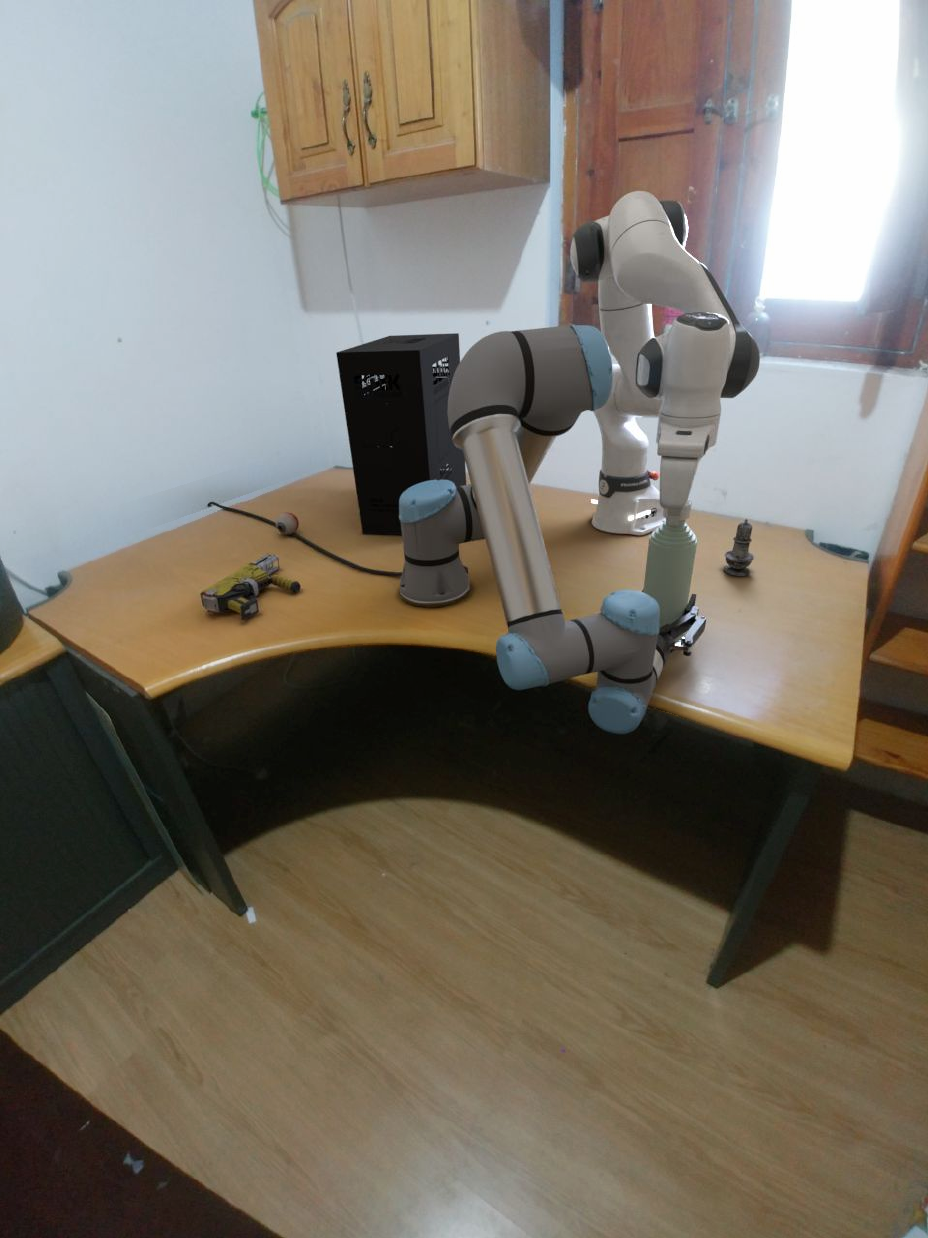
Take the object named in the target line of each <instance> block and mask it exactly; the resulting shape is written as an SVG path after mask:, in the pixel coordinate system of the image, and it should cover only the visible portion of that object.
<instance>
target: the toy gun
mask: <svg viewBox="0 0 928 1238" xmlns="http://www.w3.org/2000/svg"><path fill="white" fill-rule="evenodd" d="M275 562H277V564H278V565H277V566H276V565H274V563H275ZM280 568H281V567H280V558H279V556H278V555H277V554H272V553H270V552H269V553H267V554H265V555H263V556H261V557H260V558H258V559H257V560H255V561H253V562H250V563H248V564H246V565H244V566H243V567H240V568H239V569H238V570H236V571H234V572H233V573H231V574H229V575H228V576H226V577H223V579H221V580H218V581H217V582H216V583H214V584H212V585H210V586H209V587H207V588H205V589H204V590H202V591H201V592H200V594H199V595H200V599H201V604H202V607H203V608H204V610H206V612H207V613H211V614H212V615H213V614H214V615H215V614H216V613H220V614H222V613H228V612H231V611H234V612H237V613H239V614H240V615H241V620H243V621H245V620H247V619H249V618H251V617H252V616H254V615H257V614H259V612H260V609H259V602H258V599H257V597H258V596H259V594H260V592H259V591H261V590H263V589H265V588H267V587H269V586H270V585H274V586H277V587H278V588H282V589H285V590H286V591H290V592H292V593H294V594H295V593H298V592H299V591H300V590H301V584H300V582H299V581H297V580H292V579H288V578H287V577H284V576H280V575H279V574H274V573H275V572H276V571H277V570H279V569H280ZM271 574H274V575H273V576H271V577H270V576H269V575H271Z"/></svg>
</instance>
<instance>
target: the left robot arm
mask: <svg viewBox="0 0 928 1238" xmlns="http://www.w3.org/2000/svg"><path fill="white" fill-rule="evenodd" d="M612 364H613V361H612V354H611V353H610V350H609V347H608V344H607V342H606V340H605V338H604V336H603V334H602V333H601V330H599V329H598V328H597V327H595V326H593V325H591V324H590V325H589V324H585V325H583V324H581V325H579V324H573V323H571V324H569V325H559V326H550V327H549V326H548V327H539V328H530V329H521V330H520V329H519V330H512V331H511V330H502V331H501V330H500V331H496V332H492V333H491V334H488V335H485V336H483V337H482V338H480V339H479V340H478V341H476V342H475V343H474V344H473V345H472V346H471V347H469V349H468V350H467V351H466V352H465V354H464V355H463V357H462V358H461V359H460V363H459V365H458V367H457V369H456V371H455V374H454V376H453V379H452V383H451V387H450V391H449V397H448V422H449V428H450V432H451V436H452V441H453V444H454V445H455V446H456V447H457V448H459V449H461V450H463V454H464V458H465V467H466V469H467V474H468V477H469V483H470V484H466V485H463V486H458V487H456V486H455V484H454V483H453V482H452V481H449V480H443V479H441V480H438V481H437V480H430V481H425V482H422V483H418V484H416V485H414V486H411V487H410V488H408V489H407V490H406V491H404V492H403V493H402V495H401V497H400V499H399V519H400V521H401V530H402V535H401V538H402V547H403V556H404V562H403V566H402V567H403V568H402V571H387V570H380V569H374V568H368V567H364V566H361V565H359V564H357V563H355V562H352V561H349V560H348V559H345V558H342V557H340V556H338V555H336V554H334V553H332V552H330V551H328V550H327V549H325V548H322V547H320V545H319V546H318V545H317V544H316V543H314V542H312V541H311V540H308V539H307V538H305V537H304V536H302V535H301V534H298V533H296V532H294V533H292V534H291V536H293V537H296V538H298V539H299V540H301V541H302V542H304V543H306V544H307V545H309V546H311V547H313V548H314V549H315V550H317V551H319V552H321V553H323V554H324V555H327V556H328V557H331V558H333V559H335V560H337V561H339V562H341V563H344V564H346V565H348V566H350V567H352V568H355V569H357V570H359V571H362V572H366V573H371V574H375V575H376V574H378V575H384V576H386V575H387V576H393V577H395V576H396V577H400V579H399V580H400V581H399V587H398V588H399V589H398V590H399V596H400V598H401V600H403V601H404V602H405V603H407V604H409V605H412V606H415V607H419V608H441V607H446V606H450V605H454V604H457V603H458V602H460V601H462V600H463V599H465V598H466V597H467V596H468V595H469V593H470V591H471V585H470V583H471V582H470V579H469V576H468V575H469V567H467V566H466V565H464V563H463V561H462V559H461V556H460V545H461V544H466V543H471V542H477V541H482V540H483V541H484V540H485V544H486V548H487V552H488V555H489V556H488V557H489V560H490V564H491V567H492V571H493V575H494V578H495V583H496V588H497V591H498V596H499V599H500V603H501V607H502V610H503V611H502V612H503V615H504V618H505V622H506V627H507V632H506V634H503V635H500V636H499V637H498V639H497V640H496V643H495V654H496V663H497V666H498V670H499V674H500V677H501V678H502V679H503V681H504V683H505V684H506V685H507V686H508V687H509V688H510V689H512V690H516V691H522V690H528V689H532V688H533V689H534V688H537V687H547V686H548V685H550V684H554V683H557V682H562V681H565V680H568V679H573V678H576V677H580V676H584V675H589V674H594V673H597V678H596V685H595V688H594V689H593V690H592V692H591V693H590V699H589V701H588V704H587V705H588V707H587V709H588V714H589V717H590V718H591V720H592V722H593V723H594V724H595V725H596V726H597V727H598V728H600V729H601V730H603V731H605V732H607V733H610V734H615V735H627V734H630V733H632V732H634V731H635V730H636V729H637V728H638V727H639V725H640V724H641V723H642V720H643V719H644V717H645V716H646V715H647V709H648V706H649V703H650V701H651V698H652V696H653V693H654V690H655V689H656V686H657V684H658V681H659V680H660V677H661V675H662V672H663V669H664V667H665V665H666V662H667V660H668V657H669V655H670V654H672V653H673V652H675V651H679V652H682V655H683V656H686V657H689V656H692V649H693V647H694V645H695V644H696V642H697V641H698V640H699V638H700V637H701V636H702V635H703V633H704V632H705V630H706V625H707V616H706V615H699V611H700V607H699V606H696V600H697V594H696V593H692V594H691V595H690V598H689V599H688V605H687V607H686V610H685V615H684V616H683V617H681V618H679V619H678V620H676V621H675V622H673V623H671V624H670V625H669V624H666V625H664V626H662V627H661V628H660V627H659V624H660V608H659V605H658V603H657V601H656V600H655V599H654V598H652V597H651V596H650V595H648V594H646V593H643V589H641V590H636V589H620V590H614V591H613V592H611V593H610V594H608V595H606V596H605V597H604V598H603V600H602V604H601V606H600V613H596V614H592V615H588V616H583V617H579V618H575V619H570V620H565V617H564V613H563V610H562V606H561V602H560V599H559V595H558V590H557V586H556V583H555V579H554V575H553V572H552V567H551V564H550V560H549V556H548V553H547V549H546V545H545V541H544V537H543V534H542V529H541V525H540V522H539V518H538V514H537V510H536V506H535V503H534V499H533V494H532V492H531V491H532V490H531V488H530V485H531V482H532V481H533V479H534V477H535V475H536V473H537V472H538V471H539V468H540V467H541V464H542V463H543V462H544V460H545V458H546V456H547V454H548V452H549V450H550V449H551V447H552V445H553V443H554V442H555V440H556V438H557V437H558V436H562V435H564V434H566V433H568V432H569V431H570V430H571V429H572V428H573V427H574V426H575V424H576V422H577V421H578V420H579V418H580V416H581V414H582V413H583V412H587V411H589V412H593V411H595V410H596V409H600V408H602V407H603V406H604V405H605V404H606V403H607V401H608V399H609V396H610V393H611V388H612V380H613V374H612ZM212 505H213V506H215V507H217V508H220V509H223V510H227V511H231V512H234V513H239V514H241V515H246V516H249V517H252V518H255V519H258V520H261V521H264V522H265V523H269V524H271V525H273V526H275V527H276V521H273V520H271V519H268V518H266V517H263V516H261V515H257V514H255V513H253V512H252V513H251V512H248V511H245V510H242V509H238V508H234V507H229V506H225V505H221V504H219V503H217V502H215V501H209V502H208V503H207V505H206V506H207V507H211V506H212ZM682 634H683V635H684V636H683V637H682V638H681V640H679V642H675V641H674V639H675V638H677V637H679V636H680V635H682Z"/></svg>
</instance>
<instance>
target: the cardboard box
mask: <svg viewBox="0 0 928 1238" xmlns="http://www.w3.org/2000/svg"><path fill="white" fill-rule="evenodd" d="M460 353H461V352H460V334H459V332H458V333H457V332H455V333H453V332H452V333H430V334H427V333H426V334H425V333H424V334H403V335H401V334H400V335H387V336H384V337H381V338H378V339H375V340H372V341H368V342H365V343H362V344H359V345H355V346H353V347H350V348H346V349H343V350H340V351H337V352H335V354H336V359H337V360H336V361H337V367H338V374H339V381H340V388H341V395H342V402H343V409H344V415H345V423H346V429H347V436H348V442H349V449H350V457H351V463H352V471H353V475H354V476H353V478H354V484H355V490H356V491H355V492H356V498H357V504H358V511H359V520H360V525H361V526H360V527H361V532H362V534H371V535H396V536H402V530H401V521H400V519H399V499H400V497H401V495H402V493H403V492H404V491H406V490H407V489H408V488H410V487H411V486H414V485H416V484H418V483H422V482H425V481H430V480H437V481H438V480H441V479H443V480H449V481H452V482H453V483H454V484H455V486H456V487H458V486H463V485H467V471H466V469H467V467H466V462H465V458H464V454H463V450H461V449H459V448H457V447H456V446H455V445H454V444H453V441H452V436H451V432H450V428H449V422H448V397H449V391H450V387H451V383H452V379H453V376H454V374H455V371H456V369H457V367H458V365H459V363H460V361H461V354H460ZM443 360H444V361H443ZM439 362H440V363H441V364H439ZM434 365H435V366H434Z"/></svg>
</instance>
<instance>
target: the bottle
mask: <svg viewBox="0 0 928 1238" xmlns="http://www.w3.org/2000/svg"><path fill="white" fill-rule="evenodd" d="M667 521H668V519H667V518H666V521H664V522H663V524H661V525H660V526H659V527H658V528H656V530H654V531H652V532H651V534H650V535H649V537H648V546H647V555H646V564H645V570H644V571H645V572H644V581H643V589H642V590H643V593H646V594H648V595H650V596H651V597H652V598H654V599H655V600H656V601H657V603H658V605H659V608H660V624H659V627H660V628H661V627H662V626H664V625H666V624H669V625H670V624H671V623H673V622H675V621H676V620H678V619H679V618H681V617H683V616H684V615H685V610H686V607H687V605H688V602H689V599H690V598H689V597H690V592H691V584H692V577H693V571H694V564H695V558H696V553H697V552H696V551H697V547H698V539H697V535H696V534H695V533H694V531H693V530H692V528H691V527H690V526H689V525H688V523H687V522H686V520H680V522H679V525H677V526H672V525H668V523H667ZM682 637H684V633H683V634H682V635H680V636H679V637H677V638H675V639H674V641H675V642H679V640H681V638H682Z"/></svg>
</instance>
